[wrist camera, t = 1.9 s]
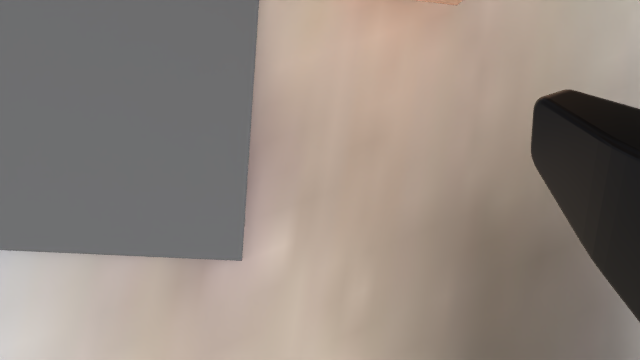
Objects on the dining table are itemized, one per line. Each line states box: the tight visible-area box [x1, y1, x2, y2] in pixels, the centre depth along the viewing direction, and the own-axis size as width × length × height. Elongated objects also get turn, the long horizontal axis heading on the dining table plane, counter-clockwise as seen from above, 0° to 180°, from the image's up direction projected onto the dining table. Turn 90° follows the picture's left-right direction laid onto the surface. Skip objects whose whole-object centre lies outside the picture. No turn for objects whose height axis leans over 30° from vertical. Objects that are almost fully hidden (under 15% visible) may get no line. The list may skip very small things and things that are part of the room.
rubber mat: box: [0, 0, 259, 261], centre depth 21 cm, size 14×14×1 cm
